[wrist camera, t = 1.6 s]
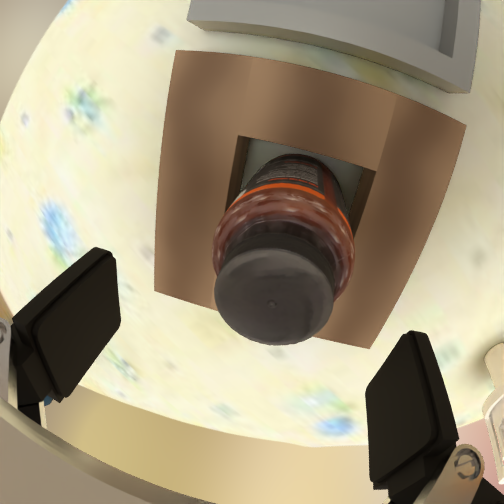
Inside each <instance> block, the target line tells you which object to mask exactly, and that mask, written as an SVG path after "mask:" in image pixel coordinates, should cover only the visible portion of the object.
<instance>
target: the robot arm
mask: <svg viewBox="0 0 504 504" xmlns="http://www.w3.org/2000/svg"><path fill="white" fill-rule="evenodd" d="M12 320H13V322H14V323H13V324H12V325H11V326H10V325H9V323H8V322H7V321H6V320H5V319H3V318H0V504H215V503H211V502H208V501H204V500H200V499H197V498H193V497H190V496H186V495H184V494H180V493H177V492H174V491H171V490H168V489H166V488H163V487H160V486H157V485H155V484H152V483H149V482H147V481H144V480H142V479H139V478H137V477H135V476H132V475H130V474H128V473H125V472H123V471H121V470H119V469H117V468H114V467H112V466H110V465H108V464H106V463H104V462H102V461H100V460H98V459H96V458H94V457H92V456H90V455H89V454H87V453H85V452H83V451H81V450H79V449H78V448H76V447H74V446H72V445H71V444H69V443H67V442H66V441H64V440H62V439H61V438H59V437H57V436H56V435H54V434H53V433H51V432H49V431H48V430H47V425H46V418H45V409H44V399H45V397H46V396H47V395H48V396H49V397H51V398H52V399H54V400H56V401H57V402H59V403H60V402H61V401H62V400H63V398H64V397H65V398H66V397H68V396H70V394H71V393H72V392H73V390H74V389H75V387H76V386H77V385H78V383H79V382H80V380H81V379H82V377H83V376H84V375H85V373H86V372H87V370H88V369H89V368H90V366H91V365H92V364H93V362H94V361H95V359H96V358H97V357H98V355H99V354H100V353H101V351H102V350H103V349H104V347H105V346H106V345H107V343H108V342H109V341H110V339H111V338H112V337H113V335H114V334H115V333H116V331H117V330H118V328H119V326H120V323H121V316H120V306H119V296H118V284H117V269H116V259H115V258H114V257H113V255H112V253H111V252H110V251H107V250H104V249H101V248H98V247H94V248H93V249H91V250H90V251H89V252H87V253H86V254H85V255H84V256H82V257H81V258H80V259H79V260H77V261H76V262H75V263H74V264H73V265H71V266H70V267H69V268H68V269H67V270H65V271H64V272H63V273H62V274H61V275H59V276H58V277H57V278H56V279H55V280H53V281H52V282H51V283H50V284H49V285H48V286H47V287H45V288H44V289H43V290H42V291H41V292H40V293H39V294H38V295H36V296H35V297H34V298H33V299H32V300H31V301H30V302H29V303H28V304H26V305H25V306H24V307H23V308H22V309H21V310H20V311H19V312H18V313H17V314H16V315H15V316H14V317H13V318H12ZM365 398H366V411H367V425H368V443H369V471H370V472H369V475H370V480H371V482H373V485H374V486H373V489H374V490H377V489H378V490H381V489H388V495H389V496H388V497H387V498H386V500H385V501H384V502H383V503H382V504H504V495H503V494H502V493H501V492H499V491H498V490H497V489H496V488H495V487H494V486H492V485H491V484H490V483H489V482H488V481H487V480H486V479H484V478H483V473H484V460H483V457H482V456H481V453H480V452H479V451H478V450H477V449H476V448H475V447H473V446H472V445H469V444H461V445H459V446H457V447H456V441H458V440H459V436H458V432H457V428H456V424H455V420H454V416H453V412H452V408H451V405H450V401H449V398H448V394H447V391H446V388H445V385H444V381H443V378H442V375H441V372H440V369H439V366H438V363H437V360H436V357H435V354H434V352H433V349H432V346H431V343H430V341H429V338H428V336H427V334H426V333H422V332H417V331H412V330H411V331H409V332H407V334H403V335H402V336H401V337H400V339H399V341H398V342H397V344H396V345H395V347H394V348H393V350H392V351H391V353H390V354H389V356H388V357H387V359H386V360H385V362H384V363H383V365H382V366H381V368H380V369H379V371H378V372H377V373H376V375H375V376H374V378H373V379H372V380H371V382H370V383H369V384H368V386H367V388H366V392H365Z"/></svg>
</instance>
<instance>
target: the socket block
mask: <svg viewBox="0 0 504 504" xmlns="http://www.w3.org/2000/svg"><path fill="white" fill-rule="evenodd" d="M465 129H466V125H465V124H463V123H461V122H459V121H457V120H455V119H453V118H451V117H449V116H447V115H445V114H443V113H440V112H438V111H436V110H434V109H432V108H430V107H427V106H425V105H423V104H420V103H418V102H416V101H413V100H411V99H408V98H406V97H403V96H401V95H398V94H395V93H393V92H390V91H387V90H385V89H382V88H379V87H376V86H373V85H370V84H367V83H364V82H361V81H358V80H354V79H351V78H348V77H344V76H341V75H337V74H334V73H330V72H326V71H322V70H318V69H314V68H310V67H305V66H301V65H296V64H291V63H286V62H281V61H276V60H270V59H264V58H257V57H251V56H243V55H235V54H226V53H216V52H203V51H185V50H176V53H175V58H174V64H173V69H172V75H171V81H170V87H169V93H168V100H167V107H166V114H165V121H164V129H163V138H162V147H161V157H160V167H159V179H158V192H157V208H156V228H155V265H154V291H156V292H159V293H162V294H165V295H168V296H171V297H175V298H178V299H181V300H184V301H187V302H190V303H193V304H197V305H200V306H203V307H206V308H210V309H213V310H216V311H218V309H217V306H216V303H215V299H214V287H215V282H216V279H217V276H216V273H215V270H214V268H213V262H212V244H213V238H214V234H215V231H216V228H217V226H218V224H219V222H220V220H221V219H222V217H223V215H224V214H225V213H226V211H227V210H228V209H229V207H230V206H231V205H232V203H233V202H234V201H235V199H236V198H237V197H238V195H239V192H240V187H241V182H242V176H243V171H244V166H245V160H246V155H247V150H248V145H249V140H250V137H251V138H256V139H260V140H265V141H269V142H274V143H278V144H282V145H287V146H291V147H295V148H299V149H303V150H306V151H310V152H314V153H318V154H321V155H325V156H328V157H332V158H335V159H339V160H342V161H346V162H349V163H352V164H355V165H359V166H362V167H364V168H363V172H362V175H361V178H360V181H359V185H358V188H357V191H356V194H355V197H354V201H353V204H352V207H351V210H350V213H349V216H348V219H349V222H350V227H351V231H352V235H353V241H354V246H355V262H354V269H353V274H352V276H351V279H350V282H349V284H348V286H347V287H346V289H345V291H344V292H343V293H342V295H341V296H340V297H339V298H338V299H337V300H336V301H335V302H334V303H333V310H332V313H331V315H330V317H329V320H328V322H327V323H326V325H325V326H324V327H323V328H322V329H321V330H320V331H319V332H318V333H316V334H315V335H313V337H317V338H321V339H326V340H330V341H334V342H339V343H343V344H348V345H352V346H357V347H362V348H367V349H370V347H371V346H372V344H373V342H374V341H375V339H376V338H377V336H378V334H379V333H380V331H381V329H382V327H383V326H384V324H385V322H386V320H387V319H388V317H389V315H390V313H391V312H392V310H393V308H394V306H395V304H396V302H397V301H398V299H399V297H400V295H401V293H402V291H403V289H404V287H405V285H406V283H407V281H408V279H409V277H410V275H411V273H412V271H413V269H414V267H415V265H416V263H417V261H418V259H419V257H420V254H421V252H422V250H423V248H424V245H425V243H426V241H427V239H428V236H429V234H430V232H431V229H432V227H433V224H434V222H435V220H436V217H437V215H438V212H439V209H440V207H441V204H442V202H443V199H444V196H445V193H446V191H447V188H448V185H449V182H450V179H451V176H452V173H453V170H454V167H455V164H456V161H457V157H458V154H459V151H460V147H461V144H462V140H463V137H464V133H465Z"/></svg>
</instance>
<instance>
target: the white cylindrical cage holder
mask: <svg viewBox="0 0 504 504" xmlns="http://www.w3.org/2000/svg"><path fill="white" fill-rule="evenodd" d="M484 361H485V364H486V366H487V368H488V371H489V373H490V376H491V378H492V381H493V384H494V387H495V390H494V391H493V392H492V393H491V394H490V395H489V396H488V398H487V399H486V401H485V402H484V404H483V407H482V412H483V415H484V419H485V422H486V426H487V429H488V433H489V437H490V442H491V446H492V450H493V455H494V460H495V465H496V470H497V476H498V483H499V484H504V465H503V462H502V459H503V461H504V343H500V344H498V345H496V346H494V347H493V348H491V349H490V350H489V351H488V353H487V354H486V356H485V358H484ZM493 423H494V425H493ZM494 426H495V428H494ZM495 430H496V432H495ZM496 433H497V436H496ZM497 437H498V440H497ZM498 441H499V444H498ZM499 445H500V448H499ZM500 450H501V452H500ZM501 454H502V457H501Z"/></svg>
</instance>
